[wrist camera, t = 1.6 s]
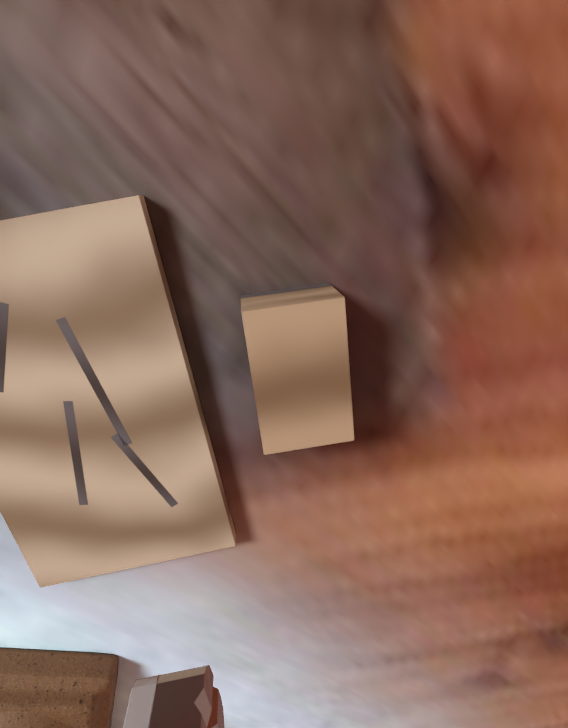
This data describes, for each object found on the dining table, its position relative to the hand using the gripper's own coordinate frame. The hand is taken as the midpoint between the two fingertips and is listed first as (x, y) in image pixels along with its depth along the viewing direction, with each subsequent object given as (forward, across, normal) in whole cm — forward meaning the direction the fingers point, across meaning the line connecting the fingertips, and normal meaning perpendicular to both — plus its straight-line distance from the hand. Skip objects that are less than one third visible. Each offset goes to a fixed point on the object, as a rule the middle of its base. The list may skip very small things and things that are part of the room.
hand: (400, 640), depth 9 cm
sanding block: (+18, 0, 0) cm, 18 cm away
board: (+18, +13, +1) cm, 22 cm away
